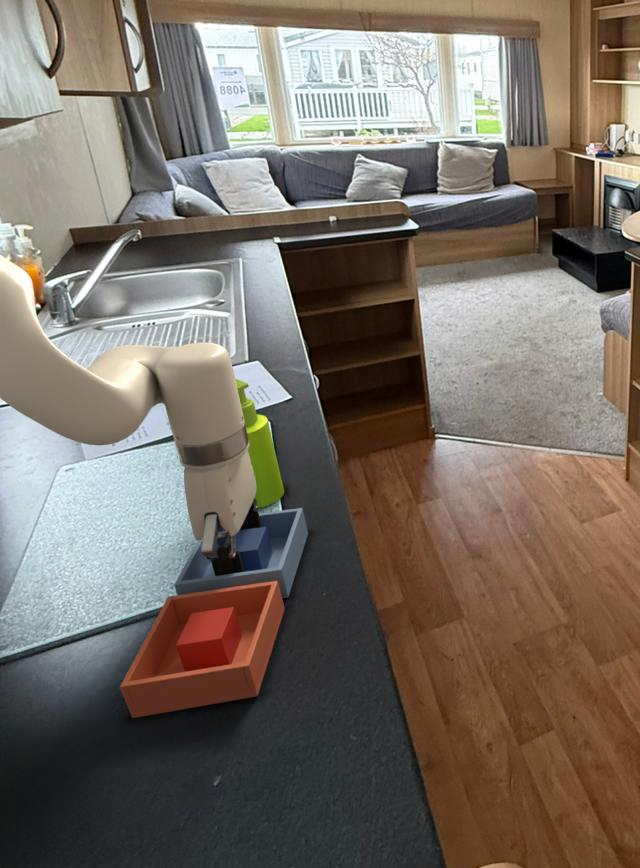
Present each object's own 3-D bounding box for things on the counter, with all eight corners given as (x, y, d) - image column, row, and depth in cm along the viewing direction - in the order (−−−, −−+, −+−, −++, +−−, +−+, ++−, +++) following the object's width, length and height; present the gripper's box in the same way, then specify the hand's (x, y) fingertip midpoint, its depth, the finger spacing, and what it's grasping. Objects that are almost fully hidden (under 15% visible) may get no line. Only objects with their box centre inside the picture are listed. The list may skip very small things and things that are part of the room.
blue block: (226, 581, 84) (219, 554, 83) (237, 557, 88) (230, 531, 87) (264, 576, 85) (256, 549, 83) (272, 552, 89) (266, 526, 87)
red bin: (132, 718, 68) (119, 687, 66) (177, 625, 79) (167, 596, 77) (257, 696, 70) (248, 665, 68) (285, 608, 81) (277, 580, 79)
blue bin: (183, 613, 80) (173, 585, 79) (216, 545, 91) (208, 519, 90) (288, 597, 83) (281, 569, 81) (308, 533, 94) (302, 507, 92)
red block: (186, 675, 72) (175, 645, 70) (200, 641, 76) (191, 613, 74) (230, 668, 72) (220, 638, 71) (242, 635, 76) (233, 606, 75)
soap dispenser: (262, 479, 106) (235, 369, 98) (292, 490, 103) (267, 378, 95) (229, 500, 101) (198, 386, 93) (260, 512, 98) (230, 396, 90)
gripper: (204, 409, 86) (231, 517, 93) (148, 488, 71) (184, 611, 77) (265, 404, 88) (287, 511, 94) (223, 481, 72) (252, 602, 79)
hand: (240, 555), depth 86 cm, fingers open, 7 cm apart
